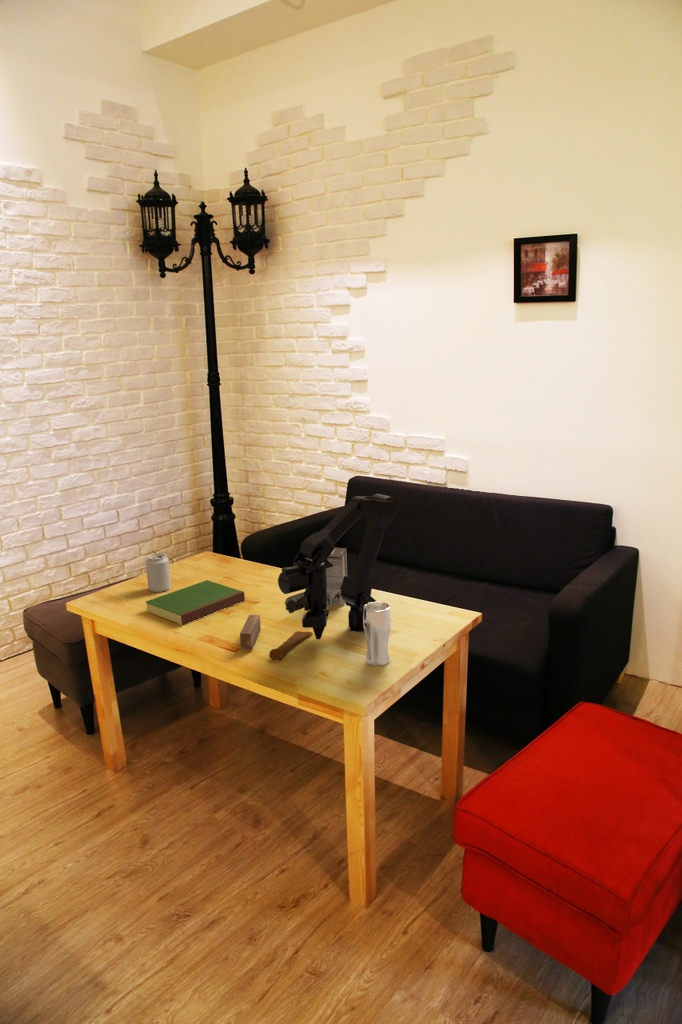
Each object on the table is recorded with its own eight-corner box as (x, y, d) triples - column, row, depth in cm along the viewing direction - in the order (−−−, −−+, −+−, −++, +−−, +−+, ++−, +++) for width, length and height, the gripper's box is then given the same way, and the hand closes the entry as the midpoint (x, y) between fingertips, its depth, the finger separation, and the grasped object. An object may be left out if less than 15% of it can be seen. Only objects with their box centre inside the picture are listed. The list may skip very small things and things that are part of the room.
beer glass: (386, 668, 178) (385, 612, 174) (360, 664, 180) (358, 609, 177) (395, 657, 184) (394, 602, 180) (370, 653, 187) (368, 599, 183)
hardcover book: (182, 627, 209) (181, 615, 208) (146, 612, 221) (145, 601, 220) (246, 602, 227) (245, 591, 226) (209, 589, 239) (208, 579, 239)
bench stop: (260, 631, 203) (259, 614, 202) (252, 650, 191) (250, 633, 189) (250, 631, 203) (249, 614, 202) (241, 650, 191) (239, 633, 190)
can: (175, 588, 240) (172, 554, 238) (157, 594, 235) (153, 560, 232) (162, 584, 245) (159, 551, 242) (144, 590, 240) (140, 556, 237)
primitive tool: (296, 632, 202) (296, 621, 202) (314, 634, 201) (314, 623, 200) (268, 661, 185) (267, 649, 184) (287, 664, 183) (286, 652, 182)
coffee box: (329, 594, 230) (327, 547, 226) (348, 595, 229) (347, 547, 225) (324, 605, 221) (321, 555, 217) (344, 605, 220) (342, 556, 216)
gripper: (290, 574, 200) (293, 625, 203) (281, 597, 182) (284, 653, 185) (330, 573, 199) (332, 625, 203) (324, 597, 181) (326, 653, 185)
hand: (318, 638), depth 194 cm, fingers closed
